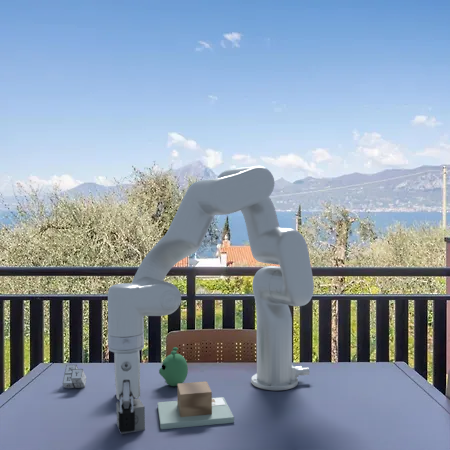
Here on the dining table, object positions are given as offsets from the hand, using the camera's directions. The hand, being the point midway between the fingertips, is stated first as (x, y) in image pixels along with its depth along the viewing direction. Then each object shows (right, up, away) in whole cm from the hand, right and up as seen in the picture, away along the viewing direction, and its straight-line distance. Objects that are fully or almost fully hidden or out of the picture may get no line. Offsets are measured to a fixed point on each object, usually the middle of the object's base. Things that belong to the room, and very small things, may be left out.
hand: (127, 421), depth 103 cm
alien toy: (+7, -1, +25) cm, 26 cm away
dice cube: (+1, -1, 0) cm, 2 cm away
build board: (+14, -1, +6) cm, 15 cm away
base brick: (+14, 0, +6) cm, 15 cm away
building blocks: (-19, -1, +25) cm, 31 cm away
